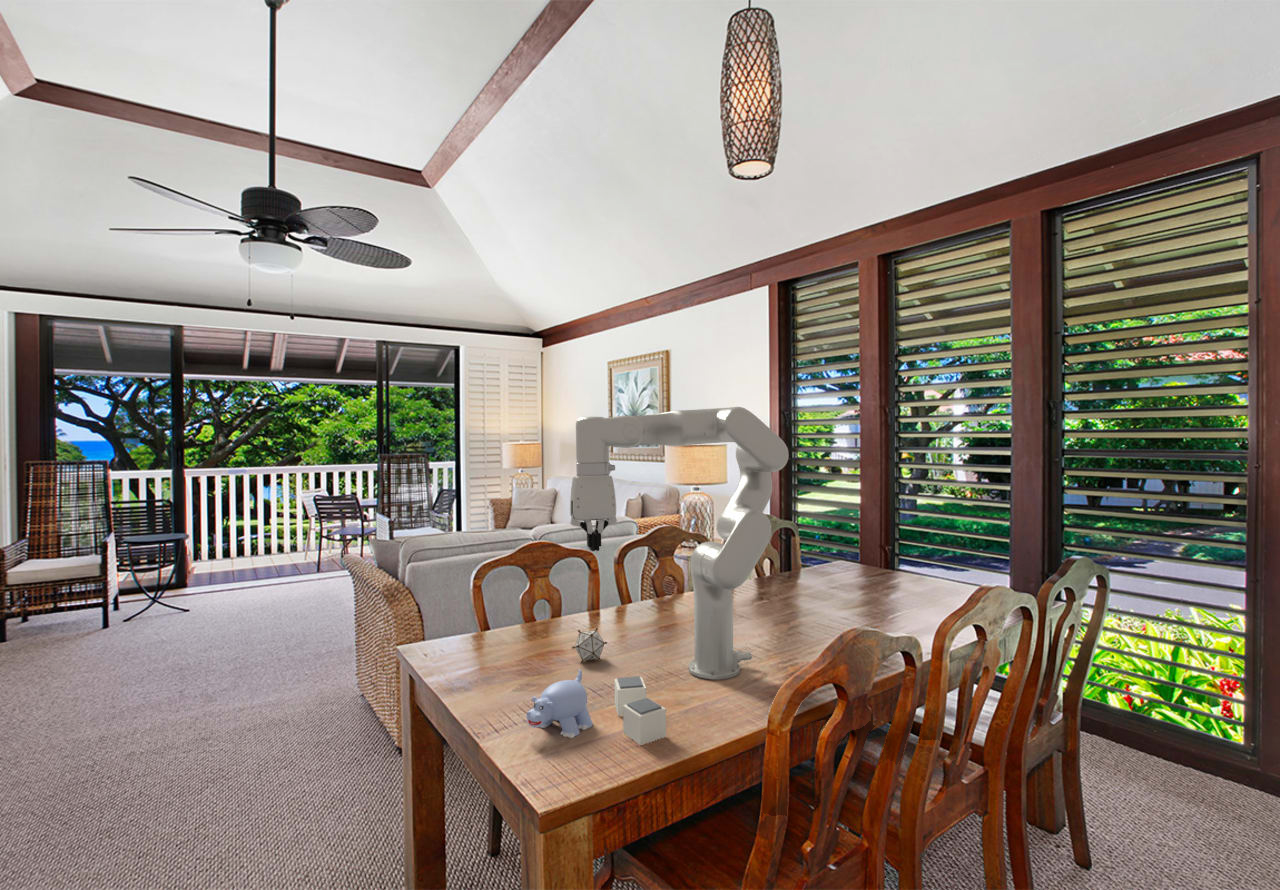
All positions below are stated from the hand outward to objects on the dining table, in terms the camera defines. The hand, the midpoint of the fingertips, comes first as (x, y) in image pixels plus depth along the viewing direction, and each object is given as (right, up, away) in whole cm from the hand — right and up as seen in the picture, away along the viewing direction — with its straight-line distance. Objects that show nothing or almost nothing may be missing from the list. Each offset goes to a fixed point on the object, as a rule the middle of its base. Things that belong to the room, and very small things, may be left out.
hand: (594, 549), depth 143 cm
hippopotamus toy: (-6, -33, -19) cm, 38 cm away
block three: (+8, -32, -10) cm, 35 cm away
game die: (-3, -32, +19) cm, 37 cm away
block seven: (+11, -32, -22) cm, 41 cm away
